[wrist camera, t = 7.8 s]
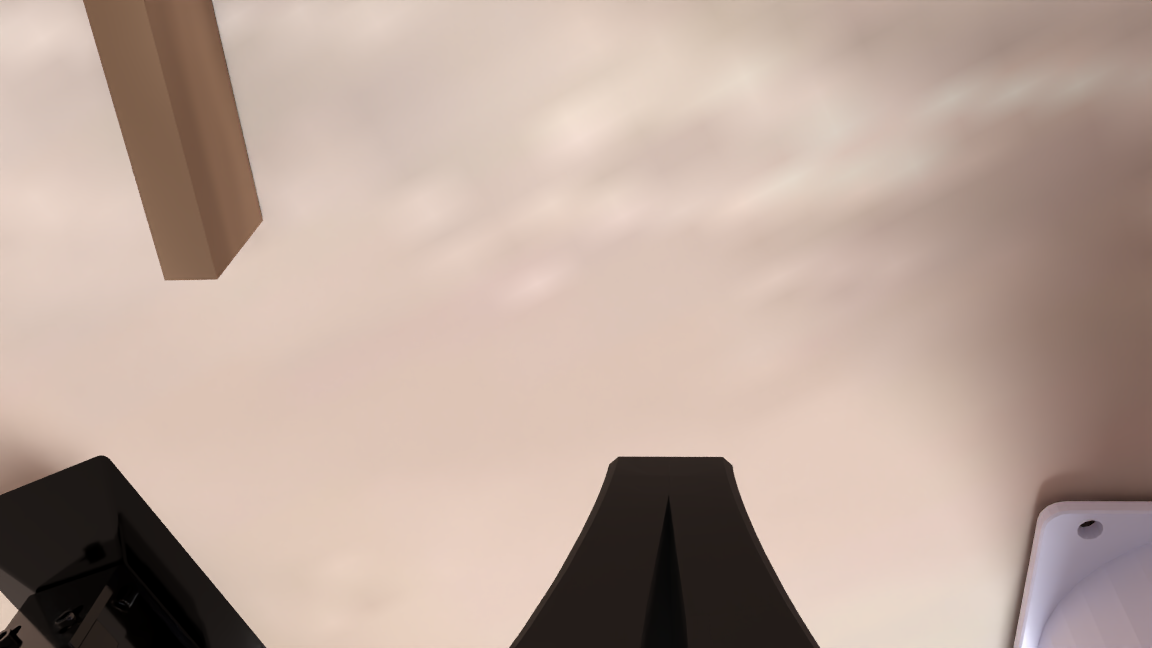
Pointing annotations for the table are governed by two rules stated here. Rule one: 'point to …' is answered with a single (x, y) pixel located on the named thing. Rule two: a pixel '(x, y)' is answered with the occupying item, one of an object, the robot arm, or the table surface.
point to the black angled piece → (104, 570)
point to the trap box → (179, 129)
